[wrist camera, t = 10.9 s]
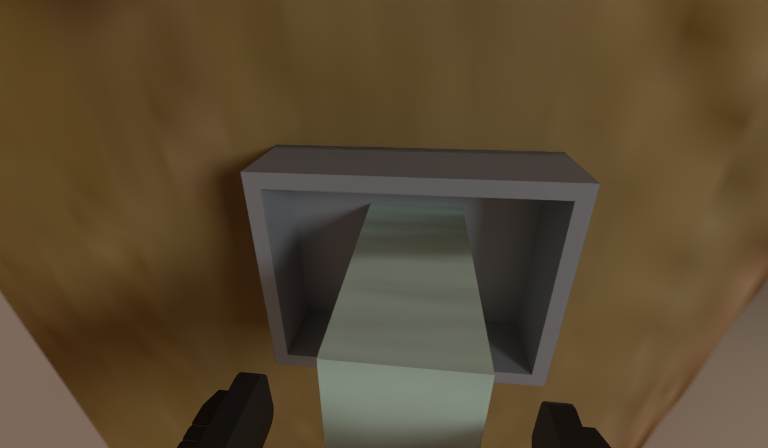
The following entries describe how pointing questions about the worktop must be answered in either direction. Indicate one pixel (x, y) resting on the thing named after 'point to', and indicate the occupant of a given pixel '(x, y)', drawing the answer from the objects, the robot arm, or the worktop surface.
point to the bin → (423, 188)
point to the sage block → (407, 337)
